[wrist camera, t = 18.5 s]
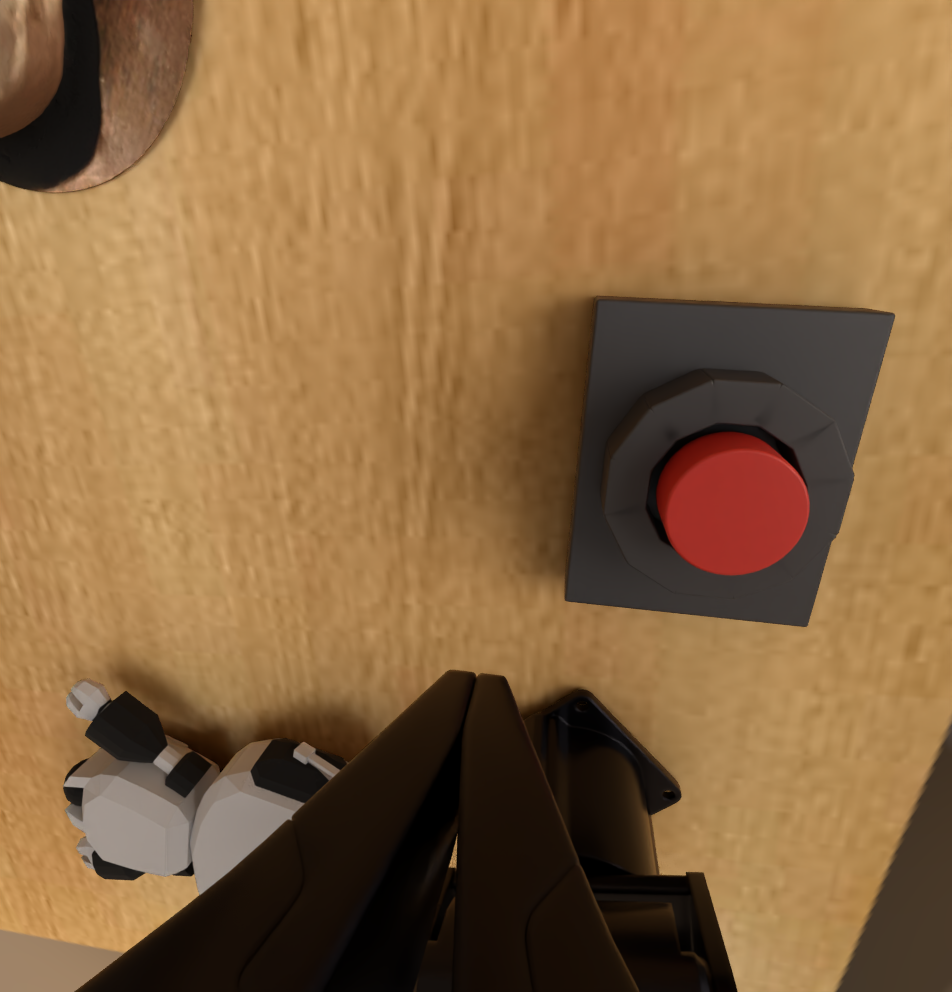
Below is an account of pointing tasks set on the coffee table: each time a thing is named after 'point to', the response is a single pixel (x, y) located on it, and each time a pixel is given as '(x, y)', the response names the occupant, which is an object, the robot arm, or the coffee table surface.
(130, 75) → the skull
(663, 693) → the coffee table surface
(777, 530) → the button
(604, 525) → the button block
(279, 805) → the robot toy
